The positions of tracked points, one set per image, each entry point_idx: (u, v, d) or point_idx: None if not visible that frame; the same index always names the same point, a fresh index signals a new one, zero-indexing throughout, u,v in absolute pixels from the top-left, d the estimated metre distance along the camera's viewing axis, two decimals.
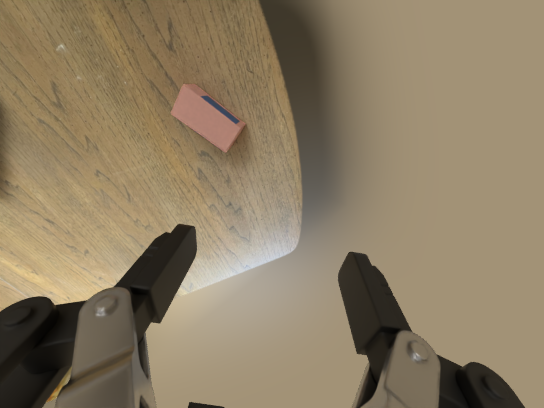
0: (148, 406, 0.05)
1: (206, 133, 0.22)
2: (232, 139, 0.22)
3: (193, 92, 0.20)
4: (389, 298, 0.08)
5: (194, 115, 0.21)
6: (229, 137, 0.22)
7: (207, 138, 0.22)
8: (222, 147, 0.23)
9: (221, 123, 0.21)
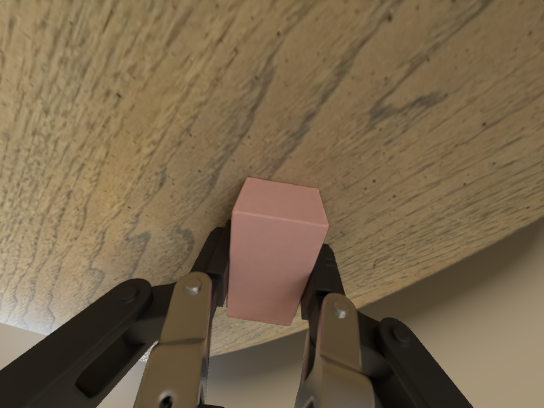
0: (203, 395, 0.05)
1: (241, 287, 0.09)
2: (261, 321, 0.10)
3: (317, 250, 0.07)
4: (333, 270, 0.09)
5: (265, 258, 0.08)
6: (261, 317, 0.10)
7: (231, 289, 0.09)
8: (233, 312, 0.10)
9: (280, 303, 0.09)
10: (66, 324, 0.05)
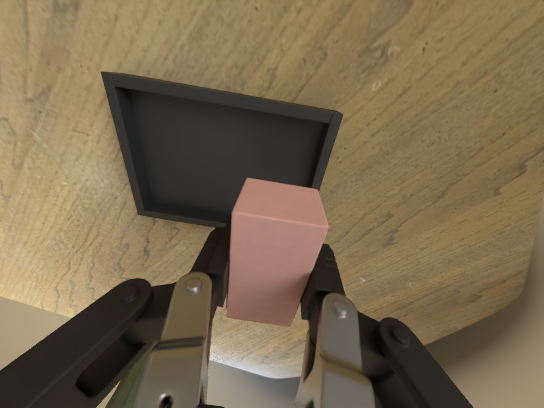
0: (203, 395, 0.05)
1: (241, 287, 0.09)
2: (261, 321, 0.10)
3: (317, 251, 0.07)
4: (333, 270, 0.09)
5: (265, 258, 0.08)
6: (261, 317, 0.10)
7: (231, 290, 0.09)
8: (233, 312, 0.10)
9: (280, 304, 0.09)
10: (66, 324, 0.05)
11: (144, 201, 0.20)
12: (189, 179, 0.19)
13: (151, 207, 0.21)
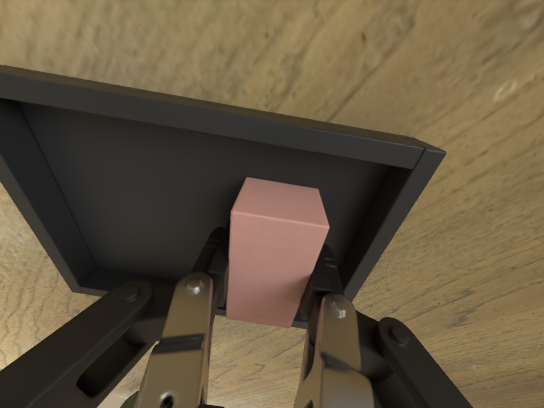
0: (204, 395, 0.05)
1: (240, 288, 0.09)
2: (261, 322, 0.10)
3: (317, 251, 0.07)
4: (332, 270, 0.09)
5: (264, 259, 0.08)
6: (261, 318, 0.10)
7: (230, 290, 0.09)
8: (233, 313, 0.10)
9: (280, 304, 0.09)
10: (68, 323, 0.05)
11: (80, 273, 0.12)
12: (150, 240, 0.12)
13: (93, 279, 0.13)
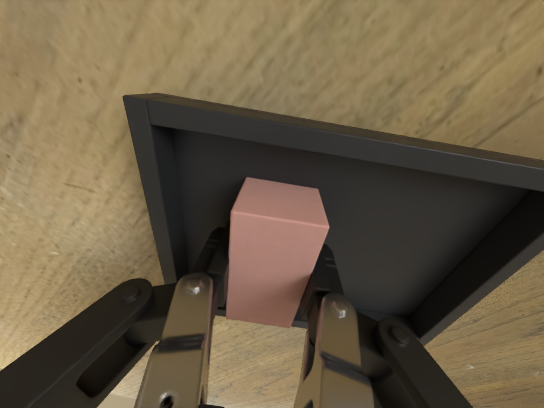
0: (204, 395, 0.05)
1: (240, 288, 0.09)
2: (261, 322, 0.10)
3: (317, 251, 0.07)
4: (332, 270, 0.09)
5: (264, 259, 0.08)
6: (261, 318, 0.10)
7: (230, 290, 0.09)
8: (233, 313, 0.10)
9: (280, 304, 0.09)
10: (67, 324, 0.05)
11: None
12: None
13: None
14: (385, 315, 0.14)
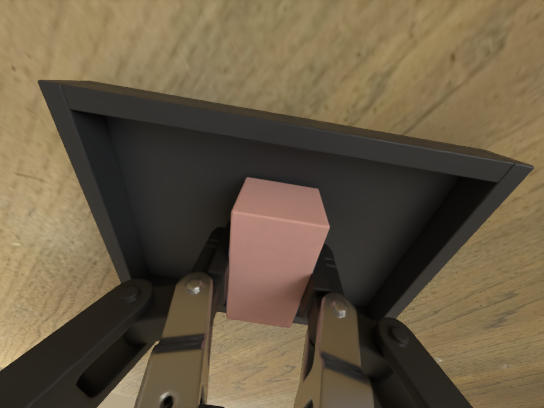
0: (204, 395, 0.05)
1: (240, 288, 0.09)
2: (261, 322, 0.10)
3: (318, 251, 0.07)
4: (332, 270, 0.09)
5: (265, 259, 0.08)
6: (261, 318, 0.10)
7: (231, 290, 0.09)
8: (233, 313, 0.10)
9: (280, 304, 0.09)
10: (67, 324, 0.05)
11: None
12: None
13: None
14: None
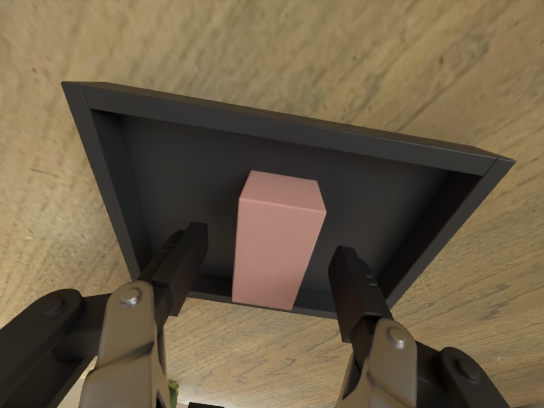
0: (163, 400, 0.05)
1: (246, 271, 0.10)
2: (264, 305, 0.11)
3: (316, 235, 0.08)
4: (374, 289, 0.08)
5: (268, 243, 0.09)
6: (264, 301, 0.11)
7: (237, 274, 0.10)
8: (238, 296, 0.11)
9: (282, 287, 0.10)
10: None
11: None
12: (212, 240, 0.13)
13: None
14: None
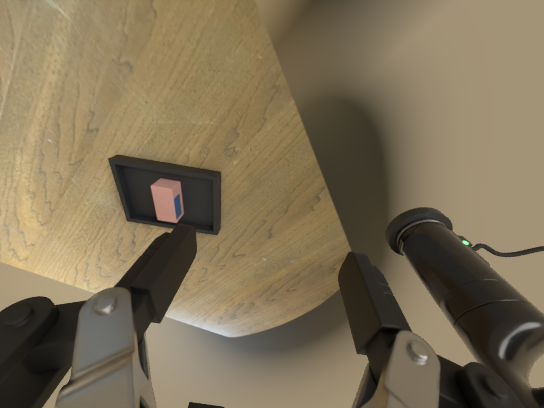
0: (148, 406, 0.05)
1: (158, 207, 0.34)
2: (167, 221, 0.35)
3: (172, 195, 0.32)
4: (389, 298, 0.08)
5: (161, 198, 0.33)
6: (167, 219, 0.35)
7: (156, 208, 0.34)
8: (158, 217, 0.35)
9: (170, 213, 0.34)
10: None
11: (130, 213, 0.37)
12: None
13: (134, 216, 0.38)
14: (206, 226, 0.39)
